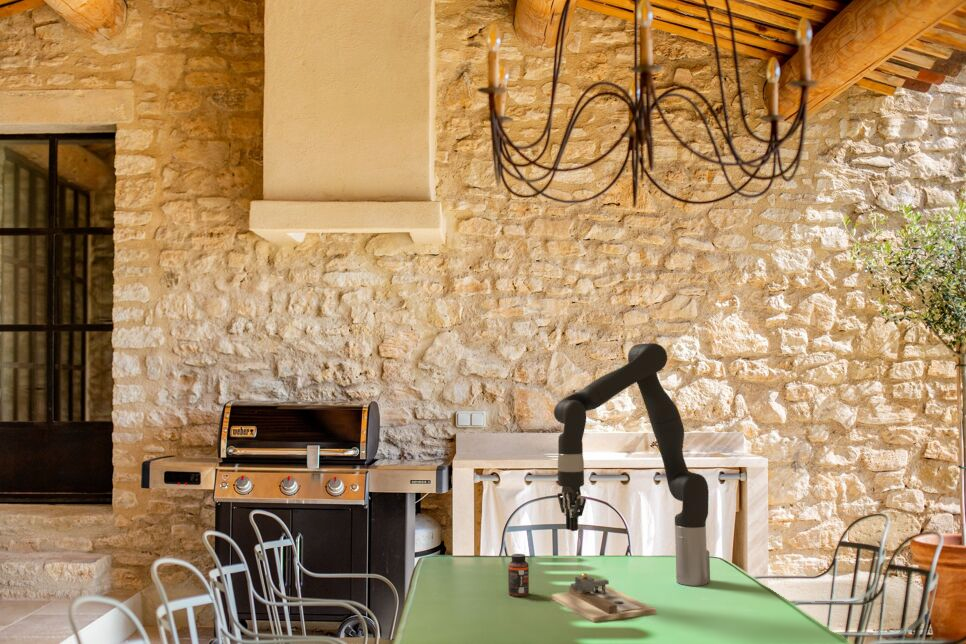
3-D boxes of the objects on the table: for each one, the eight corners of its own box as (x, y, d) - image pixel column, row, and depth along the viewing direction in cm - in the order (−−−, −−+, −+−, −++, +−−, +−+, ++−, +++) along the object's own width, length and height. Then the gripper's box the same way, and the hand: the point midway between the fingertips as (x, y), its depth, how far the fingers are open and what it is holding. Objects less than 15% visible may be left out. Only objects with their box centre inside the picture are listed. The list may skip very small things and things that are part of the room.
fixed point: (598, 590, 229) (598, 580, 229) (602, 592, 227) (602, 582, 227) (571, 593, 226) (570, 583, 226) (575, 595, 224) (574, 585, 224)
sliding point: (604, 592, 226) (603, 570, 226) (610, 595, 223) (610, 573, 223) (575, 595, 223) (575, 573, 223) (581, 598, 219) (581, 576, 220)
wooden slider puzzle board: (609, 591, 234) (608, 580, 234) (656, 613, 211) (655, 601, 212) (551, 598, 227) (551, 587, 227) (593, 622, 204) (593, 609, 205)
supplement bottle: (527, 597, 228) (526, 557, 229) (506, 596, 229) (506, 556, 230) (530, 592, 234) (529, 553, 235) (510, 591, 235) (509, 552, 236)
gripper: (594, 471, 226) (595, 533, 224) (571, 466, 238) (572, 525, 237) (570, 472, 223) (571, 535, 222) (548, 467, 236) (549, 527, 234)
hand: (571, 529), depth 229 cm, fingers closed
